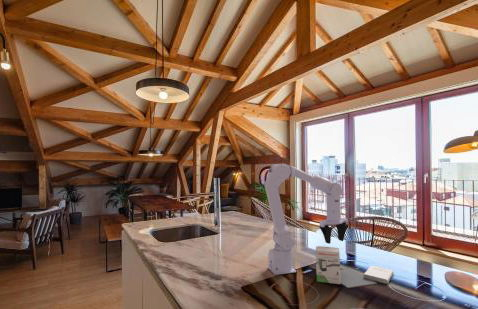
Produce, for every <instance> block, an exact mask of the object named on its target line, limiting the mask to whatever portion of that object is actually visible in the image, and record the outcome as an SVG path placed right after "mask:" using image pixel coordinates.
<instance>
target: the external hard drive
mask: <svg viewBox="0 0 478 309" xmlns="http://www.w3.org/2000/svg"><path fill="white" fill-rule="evenodd" d="M362 275H363V277H364V278H366V279H369V280H373V281H374V282H376V283H382V284H388V283H389V282H390V280H391V278H392V277H393V275H394V270H393V269H391V268H390V269H389V268H386V267H382V266H381V267H380V266H376V265H370V266H369V267H368V269H366V271H365V272H364V273H362Z"/></svg>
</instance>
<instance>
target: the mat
mask: <svg viewBox="0 0 478 309" xmlns="http://www.w3.org/2000/svg"><path fill="white" fill-rule="evenodd" d="M340 275H341V284H340V285H343V287H346V288H347V289H351V288H358V287H365V286H371V285H377V284H378V282H377V281H373V280H369V279H366V278H364V277H363V273H360V272H358V271H357V270H355V269H353V268H345V269H340Z"/></svg>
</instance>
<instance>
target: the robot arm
mask: <svg viewBox="0 0 478 309" xmlns="http://www.w3.org/2000/svg"><path fill="white" fill-rule="evenodd" d="M288 178H297V179H300V180H301V181H304V182H307V183H309V185H310V187H311V188H314V189H316V190H318V191H320V192H323V193H324V194H325V196H326V199H325V200H326V201H325V202H326V203H325V204H326V219H324V220H321V221H319V229H320V231H321V233H322V235H323V237H324V242H325V244H329V245H330V244H331V243H332V242H331V240H332V238H331V237H332V231H333V228H332V227H330V226H335V228H336V230H337V239H338V241H340V242H344V239H345V236H346V231H347V230H348V228H349V223H348V222H349V220H348V218H345V217H341V216H342V214H341V213H342V211H341V209H342V208H341V199H342V198H341V195H342V194H343V191H344V189H343V188H342V185H341V184H340V183H338V182H333V180H332V179H330V178H329V179H327V178H325V177H323V174H315V175H311V174H309V173H307V172H306V171H304V170H302V169H299V168H298V167H295V166H292V165H288V164H286V163H281V164H279V163H274V164H273V165H271V166H270V168H269V169H268V170H267V176H266V180H265V183H264V188H265V193H266V197H267V201H268V206H269V210H270V214H271V219H272V223H273V228H272V231H273V234H272V239H273V242H274V243H275V244H274V247H273V248H271V249H269V250H268V253H267V254H268V259H267V260H268V266H267V269H268V270H270V271H271V272H272V273H273V275H277V276H278V275H285V274H292V273H297V270H296V269H295V268H293V247H294V245H295V240H294V237H293V236H292V234H291V232H290V229H289V228H288V226H287V223H286V222H287V221H286V218H285V214H284V213H285V212H284V208H283V205H282V200H281V196H280V192H279V187H280V185H281V184H282V183H283V182H284V181H285V180H287V179H288Z"/></svg>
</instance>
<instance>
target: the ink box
mask: <svg viewBox="0 0 478 309" xmlns="http://www.w3.org/2000/svg"><path fill="white" fill-rule="evenodd" d="M315 261H316V262H315V264H316V265H315V266H316V269H315V270H316V282H317V283H327V284H328V283H329V284H336V285H342V284H341V275H340V270H341V257H340V248H339V247H334V246H323V245H321V246H320V245H317V246H315Z"/></svg>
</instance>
